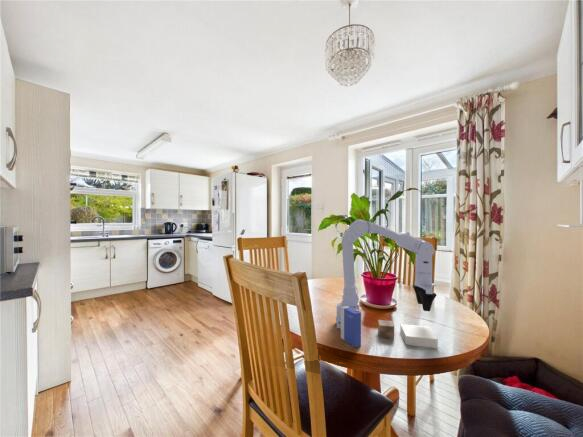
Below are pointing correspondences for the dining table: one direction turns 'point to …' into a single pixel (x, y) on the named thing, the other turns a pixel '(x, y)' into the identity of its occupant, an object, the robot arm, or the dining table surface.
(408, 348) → the dining table surface
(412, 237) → the robot arm
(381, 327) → the walnut cube
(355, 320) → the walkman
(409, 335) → the base block
